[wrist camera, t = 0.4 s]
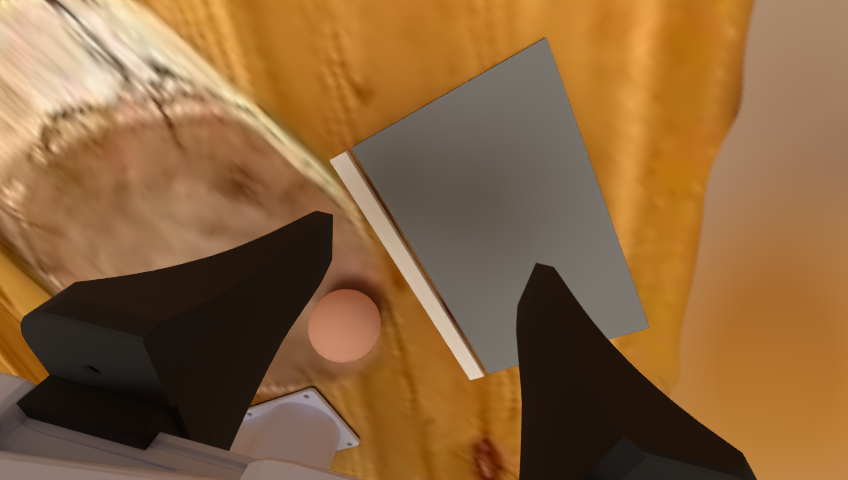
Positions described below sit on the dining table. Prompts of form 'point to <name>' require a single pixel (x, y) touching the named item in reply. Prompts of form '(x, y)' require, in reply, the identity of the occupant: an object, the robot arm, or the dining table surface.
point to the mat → (494, 207)
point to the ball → (344, 325)
